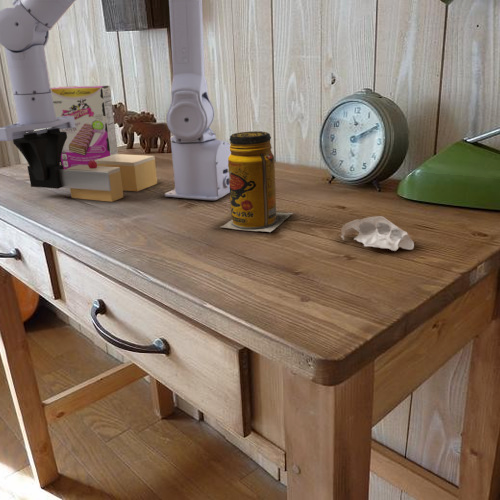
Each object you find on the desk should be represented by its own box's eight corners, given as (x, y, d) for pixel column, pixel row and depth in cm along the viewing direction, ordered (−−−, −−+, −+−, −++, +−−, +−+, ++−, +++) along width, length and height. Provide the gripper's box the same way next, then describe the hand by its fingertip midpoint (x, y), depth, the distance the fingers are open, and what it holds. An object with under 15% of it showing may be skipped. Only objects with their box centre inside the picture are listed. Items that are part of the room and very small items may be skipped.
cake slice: (123, 197, 89) (119, 159, 87) (112, 201, 87) (106, 163, 84) (83, 193, 93) (78, 157, 90) (71, 197, 90) (65, 161, 88)
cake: (157, 183, 97) (154, 155, 96) (137, 191, 92) (133, 162, 91) (119, 180, 101) (116, 153, 99) (98, 188, 96) (94, 160, 94)
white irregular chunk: (365, 231, 68) (366, 202, 66) (418, 248, 62) (421, 216, 60) (333, 242, 65) (334, 211, 63) (387, 260, 59) (388, 226, 57)
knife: (31, 186, 91) (27, 166, 90) (40, 183, 92) (36, 163, 91) (106, 192, 84) (103, 170, 83) (114, 189, 86) (111, 167, 85)
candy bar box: (60, 170, 112) (46, 88, 106) (70, 165, 116) (57, 86, 110) (112, 169, 110) (101, 86, 105) (120, 164, 115) (110, 84, 109)
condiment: (219, 228, 72) (213, 137, 67) (246, 210, 79) (242, 127, 74) (270, 233, 69) (267, 138, 64) (293, 215, 76) (292, 128, 72)
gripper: (47, 89, 93) (60, 167, 98) (-25, 97, 81) (-6, 186, 85) (79, 89, 90) (91, 169, 95) (9, 97, 78) (27, 189, 83)
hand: (47, 177), depth 90 cm, fingers closed on knife, 2 cm apart
